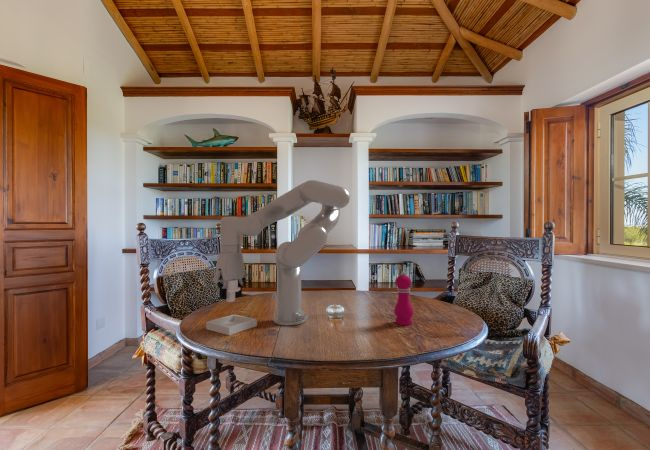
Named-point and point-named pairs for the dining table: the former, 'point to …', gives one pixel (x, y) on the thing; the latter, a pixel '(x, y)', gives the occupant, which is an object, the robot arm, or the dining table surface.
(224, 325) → the tray
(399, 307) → the pepper mill
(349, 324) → the dining table surface
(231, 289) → the pipe fitting
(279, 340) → the dining table surface
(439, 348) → the dining table surface
